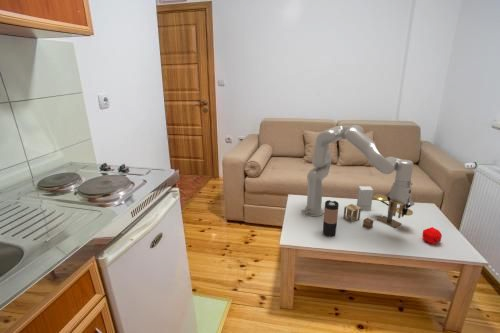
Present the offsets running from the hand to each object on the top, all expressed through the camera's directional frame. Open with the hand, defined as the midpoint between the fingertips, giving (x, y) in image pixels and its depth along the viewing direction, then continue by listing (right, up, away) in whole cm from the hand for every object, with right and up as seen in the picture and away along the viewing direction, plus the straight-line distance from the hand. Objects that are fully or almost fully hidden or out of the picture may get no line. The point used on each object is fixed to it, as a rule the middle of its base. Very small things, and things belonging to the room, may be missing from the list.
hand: (397, 211), depth 160 cm
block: (-11, -12, +14) cm, 22 cm away
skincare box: (-4, -4, +38) cm, 38 cm away
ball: (+18, -17, -1) cm, 25 cm away
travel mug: (-36, -15, +8) cm, 40 cm away
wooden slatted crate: (-17, -9, +24) cm, 31 cm away
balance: (+5, -10, +19) cm, 22 cm away
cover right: (0, -2, +1) cm, 2 cm away
